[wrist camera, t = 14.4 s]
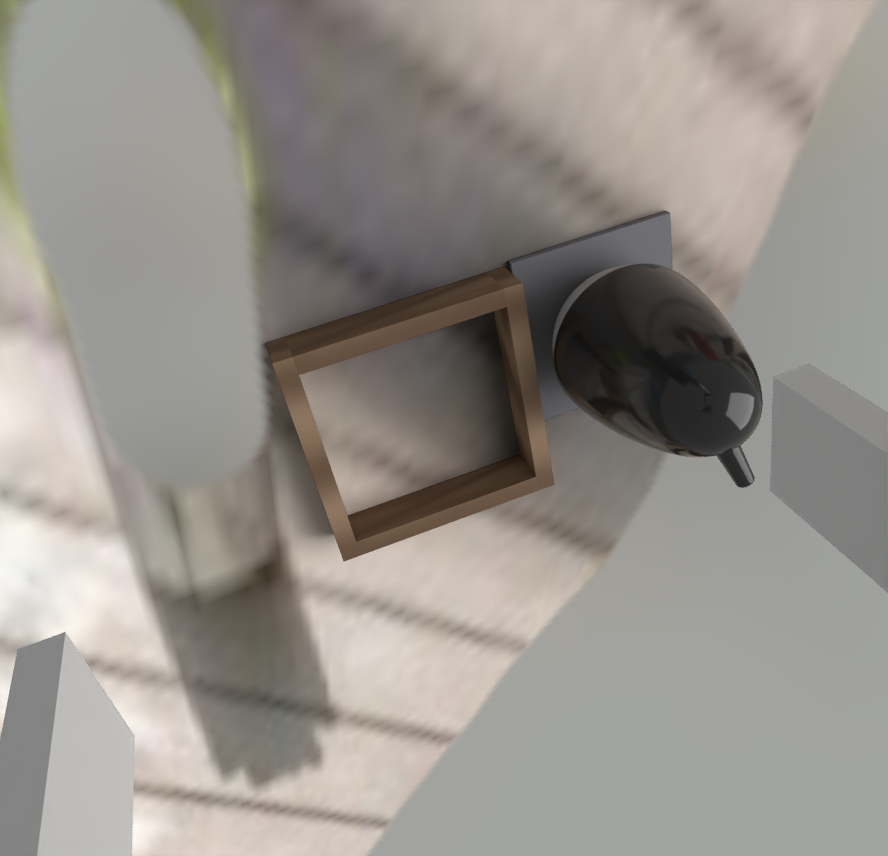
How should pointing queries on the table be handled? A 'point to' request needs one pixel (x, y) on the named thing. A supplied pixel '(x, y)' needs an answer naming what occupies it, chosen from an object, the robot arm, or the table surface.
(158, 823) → the table surface
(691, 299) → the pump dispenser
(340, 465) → the table surface
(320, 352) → the frame
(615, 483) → the table surface
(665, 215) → the rubber mat
